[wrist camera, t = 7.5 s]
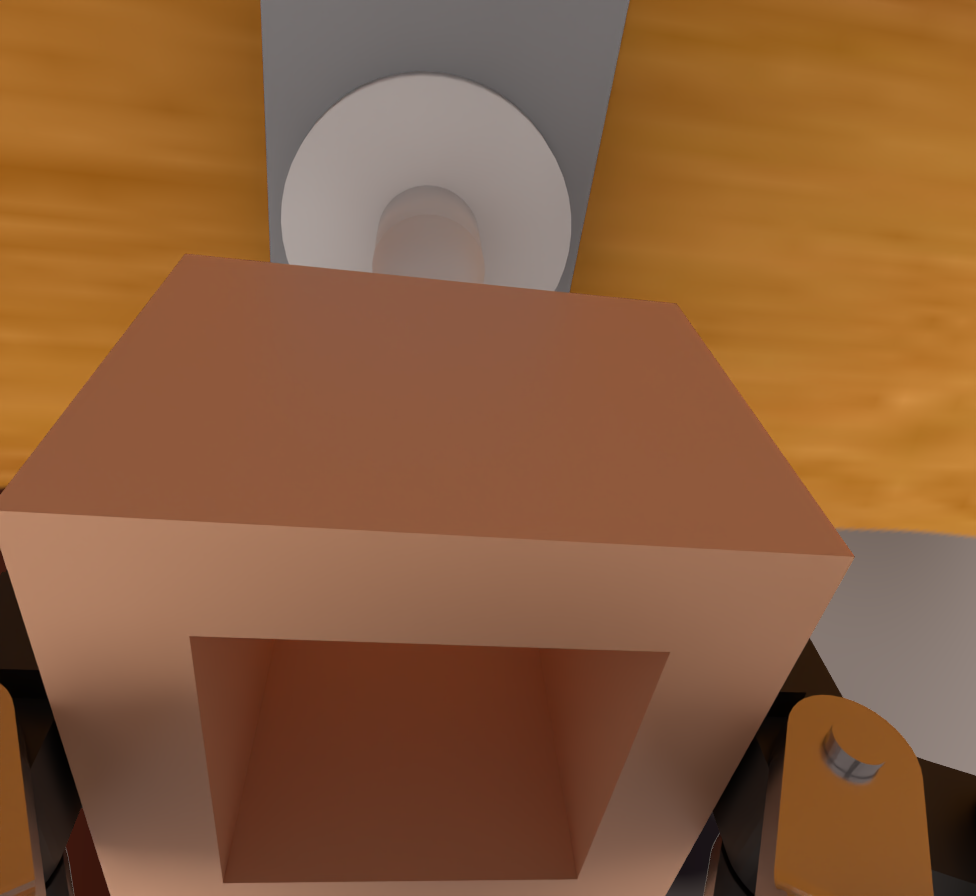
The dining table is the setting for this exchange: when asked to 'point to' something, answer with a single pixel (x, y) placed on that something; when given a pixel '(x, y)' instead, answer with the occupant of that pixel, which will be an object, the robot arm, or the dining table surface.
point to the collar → (408, 587)
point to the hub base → (436, 134)
